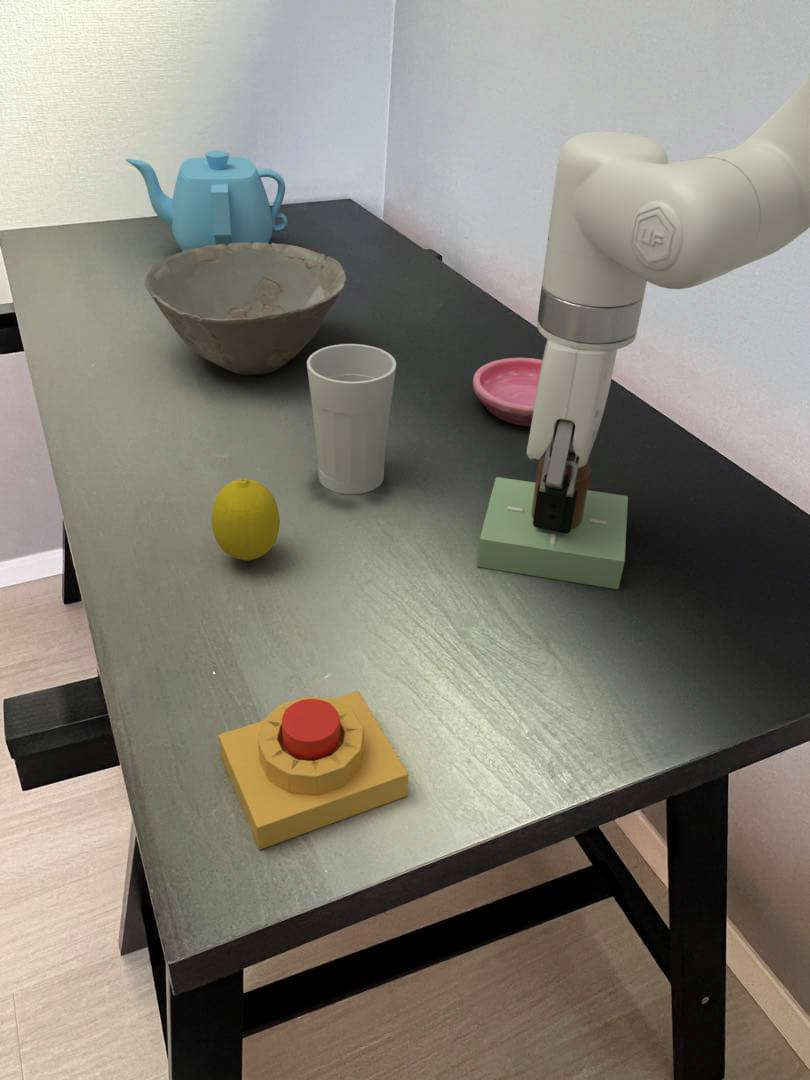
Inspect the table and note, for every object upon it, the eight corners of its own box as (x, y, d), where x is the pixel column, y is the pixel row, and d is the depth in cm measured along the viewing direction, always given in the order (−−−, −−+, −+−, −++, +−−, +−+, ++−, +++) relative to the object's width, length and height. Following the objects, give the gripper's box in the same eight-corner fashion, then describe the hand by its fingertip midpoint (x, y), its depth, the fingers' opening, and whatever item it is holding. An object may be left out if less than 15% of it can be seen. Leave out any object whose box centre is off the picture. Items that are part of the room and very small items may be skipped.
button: (327, 711, 62) (326, 692, 61) (348, 749, 59) (348, 730, 58) (274, 727, 60) (273, 708, 59) (294, 768, 58) (293, 748, 57)
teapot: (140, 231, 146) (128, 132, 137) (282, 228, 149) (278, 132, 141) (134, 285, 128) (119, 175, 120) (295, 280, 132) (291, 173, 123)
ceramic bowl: (138, 402, 102) (125, 315, 96) (173, 316, 120) (164, 238, 114) (344, 405, 103) (344, 319, 97) (347, 320, 121) (347, 243, 116)
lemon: (292, 567, 80) (288, 488, 75) (230, 586, 77) (222, 506, 73) (266, 533, 83) (261, 455, 79) (206, 550, 81) (197, 471, 76)
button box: (358, 712, 67) (358, 671, 64) (407, 796, 61) (410, 754, 59) (220, 756, 63) (215, 715, 61) (259, 850, 57) (255, 808, 55)
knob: (536, 497, 84) (543, 446, 81) (585, 507, 83) (595, 455, 80) (526, 524, 81) (534, 472, 78) (578, 535, 80) (587, 482, 77)
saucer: (548, 374, 111) (551, 349, 109) (605, 424, 102) (610, 397, 100) (452, 390, 107) (454, 364, 105) (503, 443, 98) (506, 416, 96)
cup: (404, 490, 90) (409, 375, 83) (324, 505, 87) (322, 388, 80) (375, 449, 96) (378, 339, 89) (299, 462, 93) (295, 349, 86)
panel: (622, 523, 87) (628, 494, 85) (618, 589, 79) (625, 559, 77) (492, 503, 89) (496, 475, 87) (476, 566, 81) (479, 537, 79)
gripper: (558, 267, 78) (532, 456, 89) (517, 348, 65) (492, 559, 76) (650, 280, 77) (612, 471, 87) (626, 366, 64) (585, 578, 74)
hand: (557, 510), depth 82 cm, fingers closed on knob, 4 cm apart
